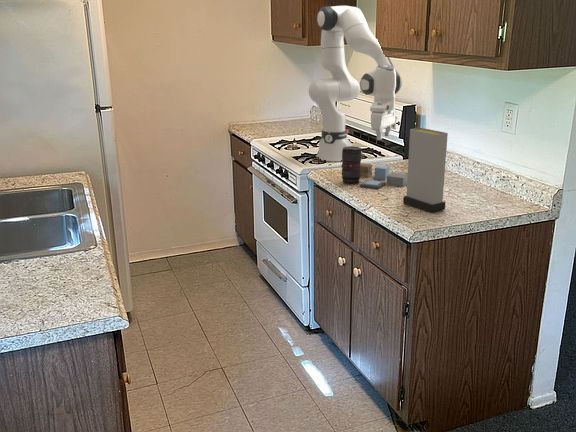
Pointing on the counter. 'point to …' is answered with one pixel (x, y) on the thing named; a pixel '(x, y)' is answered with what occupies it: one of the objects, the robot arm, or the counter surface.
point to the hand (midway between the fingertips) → (383, 137)
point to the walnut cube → (366, 170)
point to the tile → (372, 184)
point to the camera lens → (351, 164)
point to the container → (426, 169)
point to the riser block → (397, 179)
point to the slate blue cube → (381, 172)
